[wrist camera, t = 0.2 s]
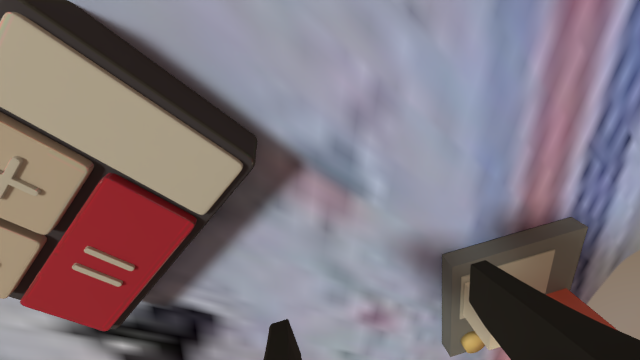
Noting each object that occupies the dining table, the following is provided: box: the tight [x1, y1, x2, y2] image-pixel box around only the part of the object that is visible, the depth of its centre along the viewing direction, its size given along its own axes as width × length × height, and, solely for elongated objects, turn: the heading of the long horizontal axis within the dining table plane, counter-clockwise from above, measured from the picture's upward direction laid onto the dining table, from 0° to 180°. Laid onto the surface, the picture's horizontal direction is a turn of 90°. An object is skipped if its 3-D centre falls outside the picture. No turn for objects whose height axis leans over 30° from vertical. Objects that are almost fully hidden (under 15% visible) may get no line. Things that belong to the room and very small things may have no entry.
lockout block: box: [546, 288, 616, 330], centre depth 26 cm, size 4×4×5 cm
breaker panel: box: [442, 217, 588, 357], centre depth 27 cm, size 12×12×2 cm
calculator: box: [0, 0, 257, 331], centre depth 16 cm, size 11×4×15 cm
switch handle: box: [463, 282, 501, 350], centre depth 24 cm, size 4×2×3 cm, turn 11°
